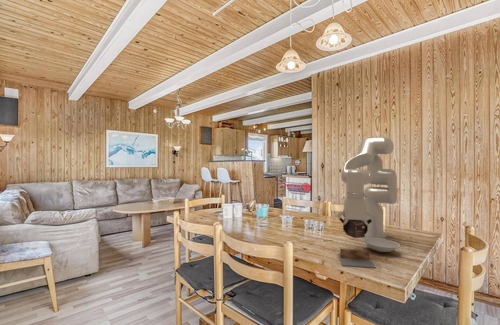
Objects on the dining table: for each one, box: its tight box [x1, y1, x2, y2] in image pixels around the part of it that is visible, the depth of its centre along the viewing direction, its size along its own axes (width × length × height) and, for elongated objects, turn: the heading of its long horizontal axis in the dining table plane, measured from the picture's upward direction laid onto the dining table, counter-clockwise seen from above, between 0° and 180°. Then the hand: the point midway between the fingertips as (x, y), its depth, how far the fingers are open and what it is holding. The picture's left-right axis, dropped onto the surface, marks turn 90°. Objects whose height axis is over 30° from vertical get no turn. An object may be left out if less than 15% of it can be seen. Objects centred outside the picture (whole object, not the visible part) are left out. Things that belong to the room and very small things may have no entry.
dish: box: [362, 238, 401, 253], centre depth 132 cm, size 18×14×5 cm
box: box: [345, 220, 365, 239], centre depth 120 cm, size 6×6×7 cm
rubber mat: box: [337, 253, 377, 269], centre depth 120 cm, size 14×14×1 cm
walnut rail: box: [339, 248, 370, 260], centre depth 122 cm, size 13×2×4 cm, turn 79°
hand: (355, 232), depth 120 cm, fingers closed on box, 8 cm apart
